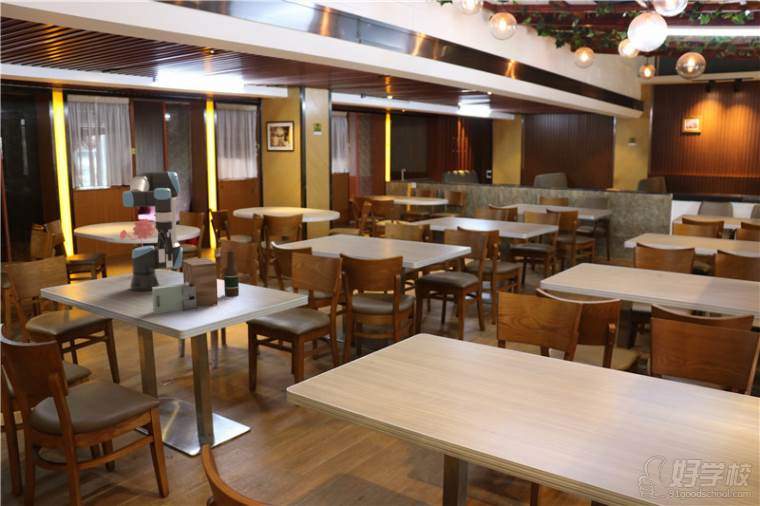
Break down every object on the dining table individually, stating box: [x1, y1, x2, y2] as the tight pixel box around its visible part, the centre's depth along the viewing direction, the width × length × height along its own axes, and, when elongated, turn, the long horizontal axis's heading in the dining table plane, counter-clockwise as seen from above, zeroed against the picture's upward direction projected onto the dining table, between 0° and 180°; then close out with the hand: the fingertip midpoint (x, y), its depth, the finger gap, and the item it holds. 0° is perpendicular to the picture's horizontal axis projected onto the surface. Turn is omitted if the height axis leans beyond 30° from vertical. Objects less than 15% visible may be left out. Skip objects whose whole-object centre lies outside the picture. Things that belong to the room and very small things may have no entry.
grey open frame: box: [182, 283, 197, 312], centre depth 314 cm, size 8×6×12 cm
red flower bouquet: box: [119, 218, 163, 277], centre depth 389 cm, size 15×26×35 cm, turn 130°
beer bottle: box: [223, 250, 240, 298], centre depth 342 cm, size 8×8×24 cm
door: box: [151, 282, 190, 314], centre depth 310 cm, size 5×17×13 cm, turn 122°
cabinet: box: [182, 257, 219, 308], centre depth 326 cm, size 18×13×21 cm
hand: (165, 264), depth 310 cm, fingers open, 13 cm apart
